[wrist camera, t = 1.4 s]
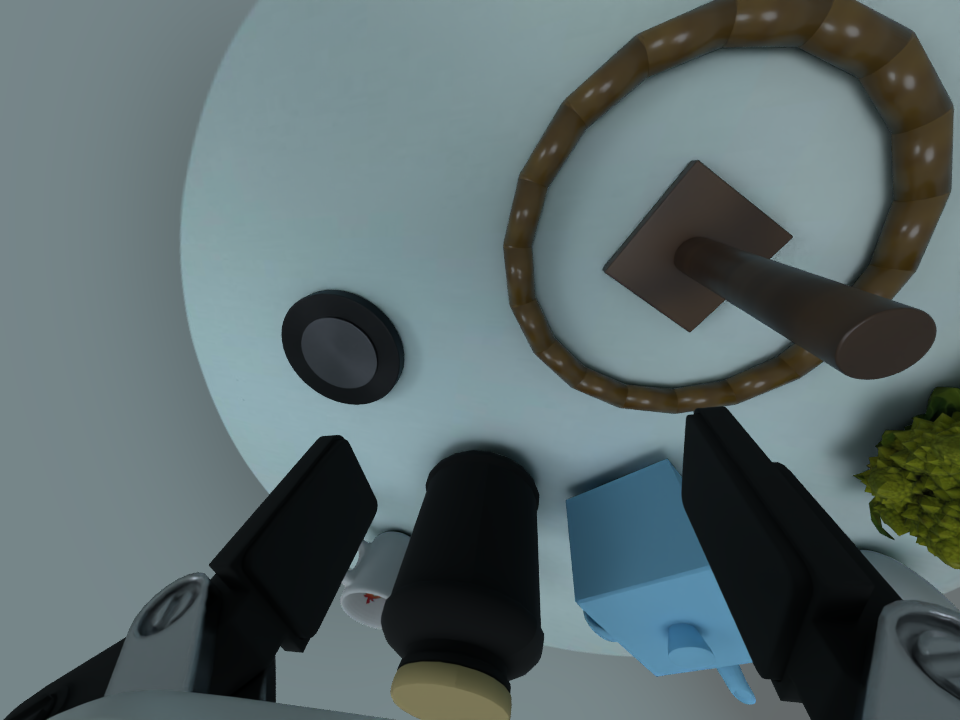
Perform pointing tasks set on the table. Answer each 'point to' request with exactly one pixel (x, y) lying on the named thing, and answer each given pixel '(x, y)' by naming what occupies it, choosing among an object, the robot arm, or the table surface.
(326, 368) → the disc
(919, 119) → the ring
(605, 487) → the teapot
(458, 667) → the container
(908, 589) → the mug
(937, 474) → the vegetable
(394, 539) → the cup
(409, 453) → the table surface
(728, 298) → the brown wall peg
